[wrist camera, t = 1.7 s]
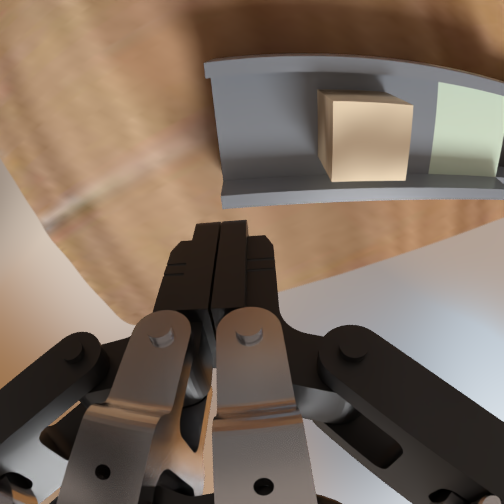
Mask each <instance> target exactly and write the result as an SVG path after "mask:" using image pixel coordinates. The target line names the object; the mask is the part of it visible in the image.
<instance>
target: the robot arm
mask: <svg viewBox="0 0 504 504" xmlns="http://www.w3.org/2000/svg"><path fill="white" fill-rule="evenodd" d="M213 368H217V415H216V416H215V417H214V419H213V426H212V444H213V446H212V447H213V476H214V493H212V494H206V495H202V493H203V486H204V478H205V477H204V475H205V470H204V463H203V450H204V444H205V438H206V431H207V425H208V418H209V413H210V407H211V400H212V393H213V391H212V386H211V382H212V370H213ZM77 401H80V402H81V403H80V404H79V405H78V406H77V407H76V408H74V409H73V410H72V411H71V412H69V413H68V414H67V415H66V416H65V417H63V418H62V419H61V420H60V421H59V422H57V423H56V424H55V425H52V426H48V425H50V424H51V423H52V422H53V421H55V420H56V419H57V418H58V417H59V416H61V415H62V414H63V413H64V412H65V411H66V410H68V409H69V408H70V407H71V406H73V405H74V404H75V403H76V402H77ZM302 418H305V419H310V420H313V422H314V423H315V424H316V425H317V426H318V427H319V428H320V429H321V430H322V431H323V432H324V433H326V434H327V435H328V436H329V437H330V438H331V439H332V440H334V441H335V442H336V443H337V444H338V445H339V446H341V447H342V448H343V449H344V450H346V451H347V452H348V453H349V454H350V455H351V456H352V457H354V458H355V459H356V460H357V461H359V462H360V463H361V464H362V465H363V466H365V467H366V468H367V469H368V470H370V471H371V472H372V473H373V474H375V475H376V476H377V477H378V478H380V479H381V480H382V481H383V482H385V483H386V484H387V485H389V486H390V487H391V488H393V489H394V490H395V491H397V492H398V493H399V494H401V495H402V496H403V497H405V498H406V499H407V500H408V501H410V502H412V503H413V504H504V422H503V421H501V420H500V419H498V418H497V417H496V416H494V415H493V414H491V413H489V412H488V411H487V410H485V409H484V408H482V407H481V406H480V405H478V404H477V403H475V402H474V401H473V400H471V399H470V398H468V397H467V396H465V395H464V394H462V393H461V392H460V391H458V390H457V389H455V388H454V387H452V386H451V385H449V384H448V383H447V382H445V381H444V380H442V379H441V378H439V377H438V376H437V375H435V374H434V373H432V372H431V371H429V370H428V369H426V368H425V367H424V366H422V365H421V364H419V363H418V362H416V361H415V360H413V359H412V358H411V357H409V356H407V355H406V354H405V353H403V352H402V351H400V350H399V349H397V348H396V347H395V346H393V345H392V344H390V343H389V342H387V341H386V340H384V339H383V338H382V337H380V336H379V335H377V334H376V333H374V332H373V331H371V330H369V329H367V328H365V327H362V326H357V325H345V326H340V327H337V328H335V329H332V330H331V331H329V332H328V333H327V334H326V335H325V336H324V337H322V336H317V335H312V334H307V333H303V332H300V331H297V330H296V329H294V328H292V327H290V326H289V325H288V324H287V323H286V322H285V321H284V320H283V318H282V316H281V314H280V311H279V302H278V291H277V280H276V270H275V259H274V248H273V244H272V243H271V242H270V241H269V239H268V238H267V237H266V236H265V235H262V236H249V235H248V226H247V220H238V221H224V222H222V223H221V222H212V223H200V224H196V227H195V231H194V235H193V239H192V240H191V241H181V242H180V243H179V244H178V245H177V246H176V247H175V248H174V249H173V250H172V251H171V253H170V257H169V260H168V263H167V266H166V269H165V272H164V277H163V279H162V282H161V286H160V289H159V292H158V296H157V299H156V303H155V306H154V310H153V313H151V314H149V315H147V316H145V317H144V318H143V319H141V320H140V321H139V322H138V323H137V325H136V326H135V328H134V330H133V332H132V335H131V336H130V337H128V338H125V339H122V340H118V341H114V342H110V343H107V344H102V345H101V344H100V342H99V341H98V339H97V338H96V337H95V336H94V335H93V334H91V333H88V332H77V333H73V334H71V335H69V336H67V337H65V338H64V339H62V340H61V341H60V342H59V343H57V344H56V345H55V346H54V347H52V348H51V349H50V350H49V351H47V352H46V353H45V354H43V355H42V356H41V357H40V358H38V359H37V360H36V361H35V362H33V363H32V364H31V365H30V366H28V367H27V368H26V369H25V370H24V371H22V372H21V373H20V374H19V375H17V376H16V377H15V378H14V379H12V381H10V382H9V383H8V384H6V385H5V386H4V387H3V388H2V389H0V504H40V503H41V502H42V501H43V500H44V499H46V498H47V497H48V496H50V495H51V494H52V493H53V492H55V491H56V490H57V489H58V488H59V487H61V488H60V492H59V496H58V497H56V498H55V499H54V500H53V501H52V502H51V503H50V504H342V503H340V502H338V501H336V500H333V499H331V498H327V497H325V496H322V495H317V494H316V492H315V486H314V481H313V475H312V469H311V463H310V458H309V452H308V446H307V441H306V436H305V430H304V425H303V420H302Z"/></svg>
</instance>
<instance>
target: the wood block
mask: <svg viewBox="0 0 504 504" xmlns="http://www.w3.org/2000/svg"><path fill="white" fill-rule="evenodd" d="M317 105H318V158H319V159H320V161H321V163H322V165H323V167H324V169H325V170H326V172H327V174H328V176H329V178H330V180H331V182H348V181H405V180H406V173H407V166H408V158H409V149H410V140H411V130H412V119H413V105H412V104H410V103H408V102H406V101H404V100H402V99H399V98H397V97H395V96H393V95H391V94H389V93H387V92H380V91H363V90H332V89H317Z"/></svg>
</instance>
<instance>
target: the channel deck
mask: <svg viewBox="0 0 504 504" xmlns="http://www.w3.org/2000/svg"><path fill="white" fill-rule="evenodd" d="M204 70H205V79H206V78H211V85H212V93H213V102H214V110H215V118H216V126H217V135H218V143H219V151H220V158H221V166H222V174H223V186H222V192H221V201H222V208H223V209H229V208H242V207H256V206H271V205H287V204H305V203H324V202H347V201H375V200H419V199H493V200H504V81H501V80H498V79H494V78H491V77H487V76H483V75H479V74H475V73H471V72H467V71H463V70H459V69H454V68H449V67H444V66H439V65H434V64H428V63H422V62H416V61H409V60H402V59H394V58H386V57H376V56H364V55H350V54H327V53H284V54H261V55H247V56H235V57H225V58H216V59H212V60H209V61H207V62H205V63H204ZM317 89H332V90H363V91H380V92H387V93H389V94H391V95H393V96H395V97H397V98H399V99H402V100H404V101H406V102H408V103H410V104H412V105H413V119H412V130H411V140H410V149H409V158H408V166H407V173H406V180H405V181H348V182H331V180H330V178H329V176H328V174H327V172H326V170H325V169H324V167H323V165H322V163H321V161H320V159H319V158H318V105H317Z"/></svg>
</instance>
